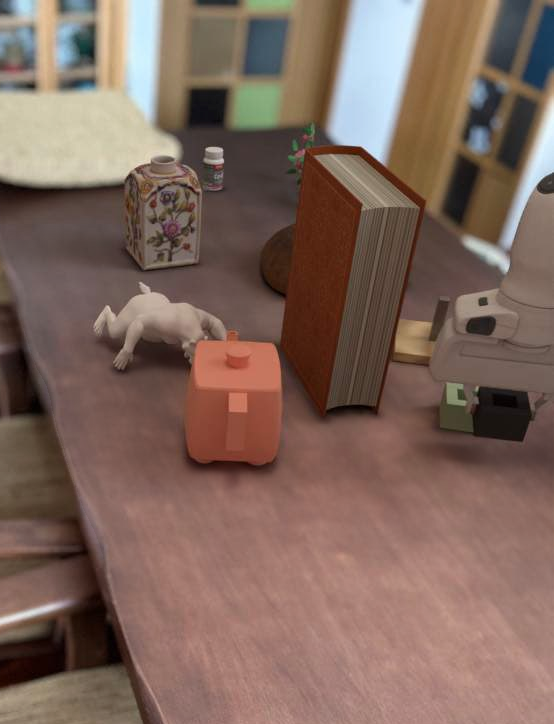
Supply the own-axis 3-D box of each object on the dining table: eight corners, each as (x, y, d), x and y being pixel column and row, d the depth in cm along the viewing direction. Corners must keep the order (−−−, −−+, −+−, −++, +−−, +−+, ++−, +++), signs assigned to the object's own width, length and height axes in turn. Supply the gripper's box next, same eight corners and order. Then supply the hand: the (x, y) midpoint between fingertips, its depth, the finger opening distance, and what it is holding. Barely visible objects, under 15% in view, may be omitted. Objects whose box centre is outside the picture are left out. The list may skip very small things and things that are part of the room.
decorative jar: (179, 242, 165) (183, 146, 154) (200, 264, 157) (205, 165, 145) (122, 248, 163) (121, 152, 151) (141, 272, 154) (141, 171, 142)
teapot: (185, 397, 121) (189, 306, 112) (271, 400, 121) (283, 310, 111) (181, 487, 104) (185, 390, 95) (281, 492, 104) (295, 395, 95)
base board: (468, 335, 137) (482, 286, 131) (471, 370, 128) (486, 319, 122) (394, 326, 139) (405, 278, 133) (392, 360, 130) (404, 310, 124)
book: (377, 414, 118) (426, 200, 98) (322, 419, 117) (361, 203, 97) (325, 339, 135) (358, 144, 115) (277, 343, 134) (302, 146, 114)
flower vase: (320, 263, 177) (274, 175, 197) (375, 244, 176) (324, 157, 196) (315, 216, 167) (268, 129, 187) (374, 196, 166) (320, 110, 186)
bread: (337, 236, 168) (345, 192, 163) (440, 284, 151) (452, 237, 146) (227, 266, 157) (230, 220, 151) (324, 322, 140) (333, 272, 134)
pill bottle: (215, 192, 188) (218, 153, 182) (198, 188, 190) (200, 150, 184) (226, 187, 191) (228, 148, 185) (208, 183, 193) (210, 145, 187)
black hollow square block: (518, 417, 109) (527, 391, 107) (522, 442, 105) (532, 415, 102) (471, 412, 110) (479, 385, 108) (473, 436, 106) (481, 409, 103)
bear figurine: (83, 378, 132) (173, 388, 118) (71, 291, 127) (163, 292, 113) (158, 355, 142) (248, 362, 129) (149, 274, 137) (242, 273, 123)
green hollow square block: (482, 411, 119) (489, 387, 116) (484, 434, 114) (492, 409, 112) (439, 405, 120) (446, 381, 117) (439, 427, 116) (446, 403, 113)
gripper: (621, 313, 98) (581, 412, 107) (443, 296, 102) (419, 393, 111) (631, 337, 93) (589, 439, 102) (444, 318, 97) (419, 418, 106)
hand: (499, 415), depth 107 cm, fingers closed on black hollow square block, 6 cm apart
